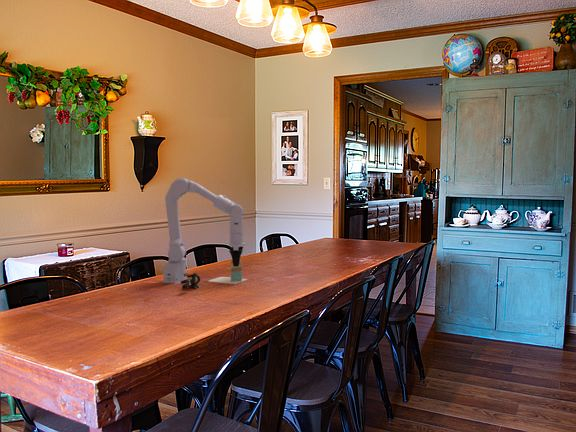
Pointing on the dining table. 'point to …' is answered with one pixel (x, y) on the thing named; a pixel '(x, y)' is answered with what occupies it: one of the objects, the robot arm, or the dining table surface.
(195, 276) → the toy
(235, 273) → the teal block
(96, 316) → the dining table surface
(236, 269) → the maple block
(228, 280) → the plate
